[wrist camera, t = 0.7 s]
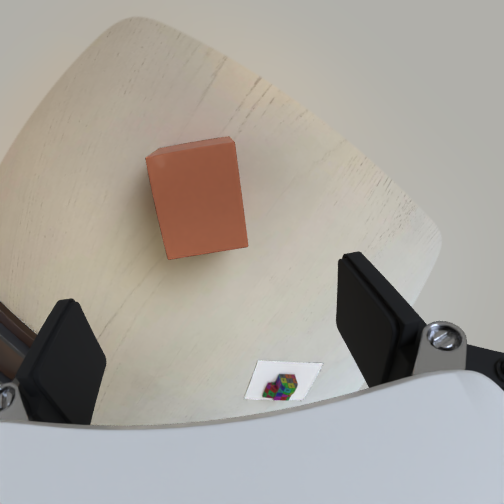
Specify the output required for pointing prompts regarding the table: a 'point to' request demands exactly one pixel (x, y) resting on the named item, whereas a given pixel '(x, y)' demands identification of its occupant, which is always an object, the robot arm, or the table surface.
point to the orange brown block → (198, 197)
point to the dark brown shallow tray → (12, 345)
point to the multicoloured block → (282, 380)
